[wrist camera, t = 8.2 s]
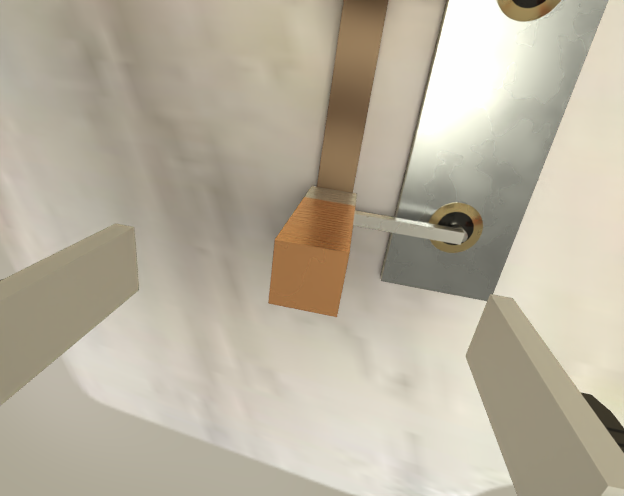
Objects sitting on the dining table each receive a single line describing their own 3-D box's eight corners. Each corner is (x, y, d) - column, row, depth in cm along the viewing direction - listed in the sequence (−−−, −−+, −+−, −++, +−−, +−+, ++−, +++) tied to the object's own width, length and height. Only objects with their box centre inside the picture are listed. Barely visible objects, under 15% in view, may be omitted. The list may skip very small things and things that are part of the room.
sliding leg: (313, 183, 24) (274, 239, 14) (469, 209, 23) (544, 289, 13) (307, 224, 25) (268, 303, 15) (455, 251, 24) (515, 353, 14)
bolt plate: (480, -140, 18) (487, -155, 17) (647, -125, 17) (664, -140, 16) (380, 274, 27) (380, 281, 26) (485, 294, 27) (490, 302, 26)
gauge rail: (371, -205, 18) (372, -381, 11) (588, -188, 17) (724, -368, 10) (301, 282, 29) (282, 334, 22) (430, 307, 28) (449, 368, 21)
